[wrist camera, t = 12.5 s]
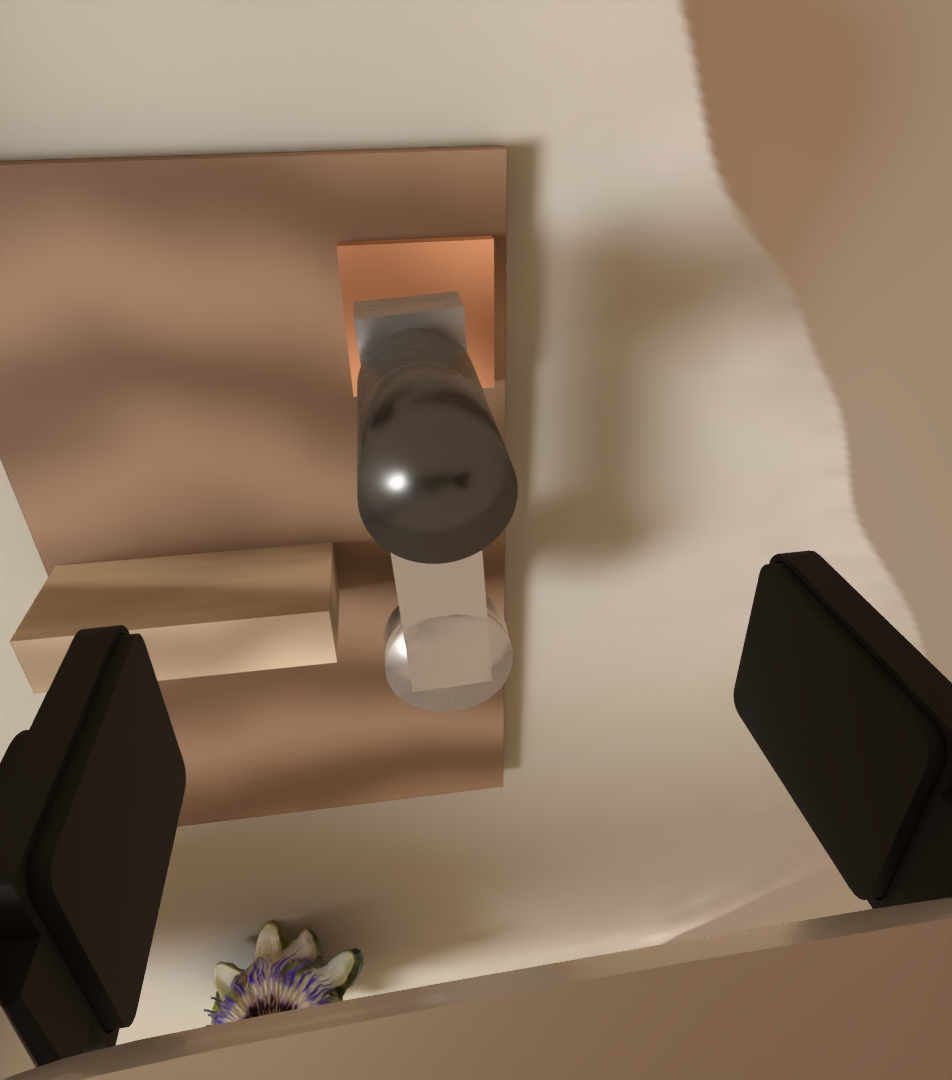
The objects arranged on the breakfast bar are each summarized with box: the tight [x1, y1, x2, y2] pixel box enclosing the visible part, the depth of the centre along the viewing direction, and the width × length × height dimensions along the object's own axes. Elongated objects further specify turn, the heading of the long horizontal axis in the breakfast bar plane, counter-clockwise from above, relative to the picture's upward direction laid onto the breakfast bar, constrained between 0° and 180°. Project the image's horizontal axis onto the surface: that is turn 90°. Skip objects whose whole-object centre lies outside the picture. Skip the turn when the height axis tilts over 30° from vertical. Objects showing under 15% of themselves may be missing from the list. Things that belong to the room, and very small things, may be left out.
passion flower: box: [204, 921, 363, 1027], centre depth 45 cm, size 11×11×12 cm
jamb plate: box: [0, 145, 507, 827], centre depth 29 cm, size 30×18×6 cm, turn 1°
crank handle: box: [353, 291, 517, 712], centre depth 21 cm, size 14×4×8 cm, turn 4°
